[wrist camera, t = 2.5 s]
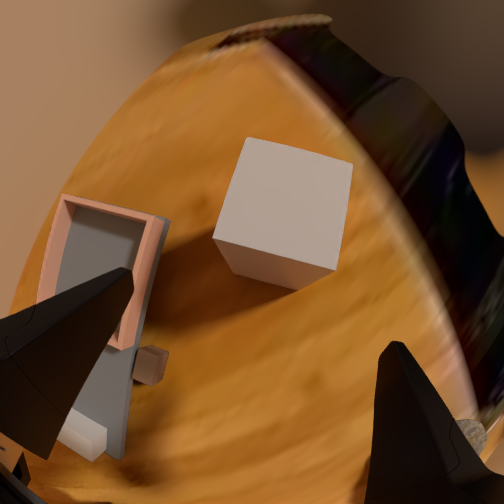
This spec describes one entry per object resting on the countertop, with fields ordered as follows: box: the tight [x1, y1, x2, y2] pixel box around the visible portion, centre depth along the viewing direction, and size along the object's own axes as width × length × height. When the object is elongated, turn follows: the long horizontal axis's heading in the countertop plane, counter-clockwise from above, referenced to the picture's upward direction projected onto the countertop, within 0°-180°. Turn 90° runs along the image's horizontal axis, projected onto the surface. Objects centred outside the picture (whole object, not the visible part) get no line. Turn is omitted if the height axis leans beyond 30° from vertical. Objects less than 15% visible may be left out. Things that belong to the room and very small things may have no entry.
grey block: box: [212, 137, 353, 291], centre depth 16 cm, size 5×5×10 cm
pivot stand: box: [132, 345, 169, 387], centre depth 18 cm, size 2×13×2 cm, turn 75°
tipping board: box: [36, 194, 171, 462], centre depth 16 cm, size 21×9×4 cm, turn 165°
